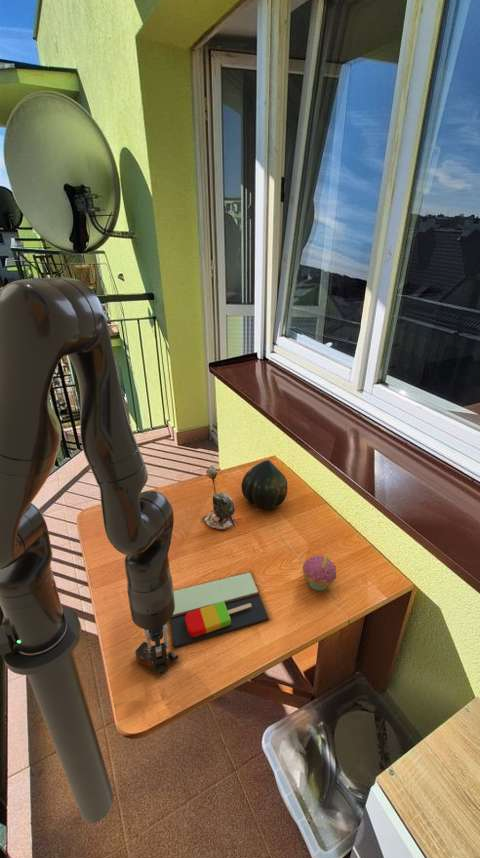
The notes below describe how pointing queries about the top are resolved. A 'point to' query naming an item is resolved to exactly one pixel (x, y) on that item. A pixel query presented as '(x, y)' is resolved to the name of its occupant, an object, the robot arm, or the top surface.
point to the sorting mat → (200, 596)
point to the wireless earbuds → (149, 656)
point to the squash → (264, 485)
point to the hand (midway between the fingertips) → (159, 651)
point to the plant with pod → (220, 507)
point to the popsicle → (210, 618)
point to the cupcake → (319, 572)
